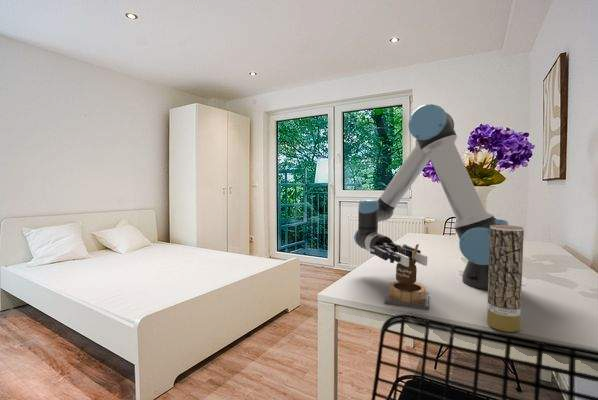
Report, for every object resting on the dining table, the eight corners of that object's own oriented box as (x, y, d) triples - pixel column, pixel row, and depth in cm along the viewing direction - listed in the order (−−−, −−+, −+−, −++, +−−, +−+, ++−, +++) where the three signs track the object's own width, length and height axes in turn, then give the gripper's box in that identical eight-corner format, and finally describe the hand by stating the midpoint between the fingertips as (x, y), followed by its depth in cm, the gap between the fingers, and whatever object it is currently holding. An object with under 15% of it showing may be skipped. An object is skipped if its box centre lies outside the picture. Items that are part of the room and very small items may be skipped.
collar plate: (428, 295, 97) (428, 283, 97) (428, 310, 86) (428, 296, 86) (389, 290, 102) (389, 278, 102) (384, 303, 91) (384, 290, 91)
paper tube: (525, 335, 72) (529, 229, 71) (493, 332, 73) (497, 228, 72) (511, 322, 79) (515, 225, 77) (482, 319, 80) (485, 224, 79)
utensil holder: (401, 276, 98) (402, 239, 98) (420, 281, 94) (422, 242, 93) (391, 280, 94) (393, 242, 94) (411, 286, 90) (413, 245, 89)
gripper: (401, 254, 113) (444, 272, 91) (355, 256, 109) (387, 276, 87) (402, 233, 113) (445, 247, 90) (355, 235, 109) (388, 250, 86)
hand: (417, 261), depth 89 cm, fingers closed on utensil holder, 5 cm apart
